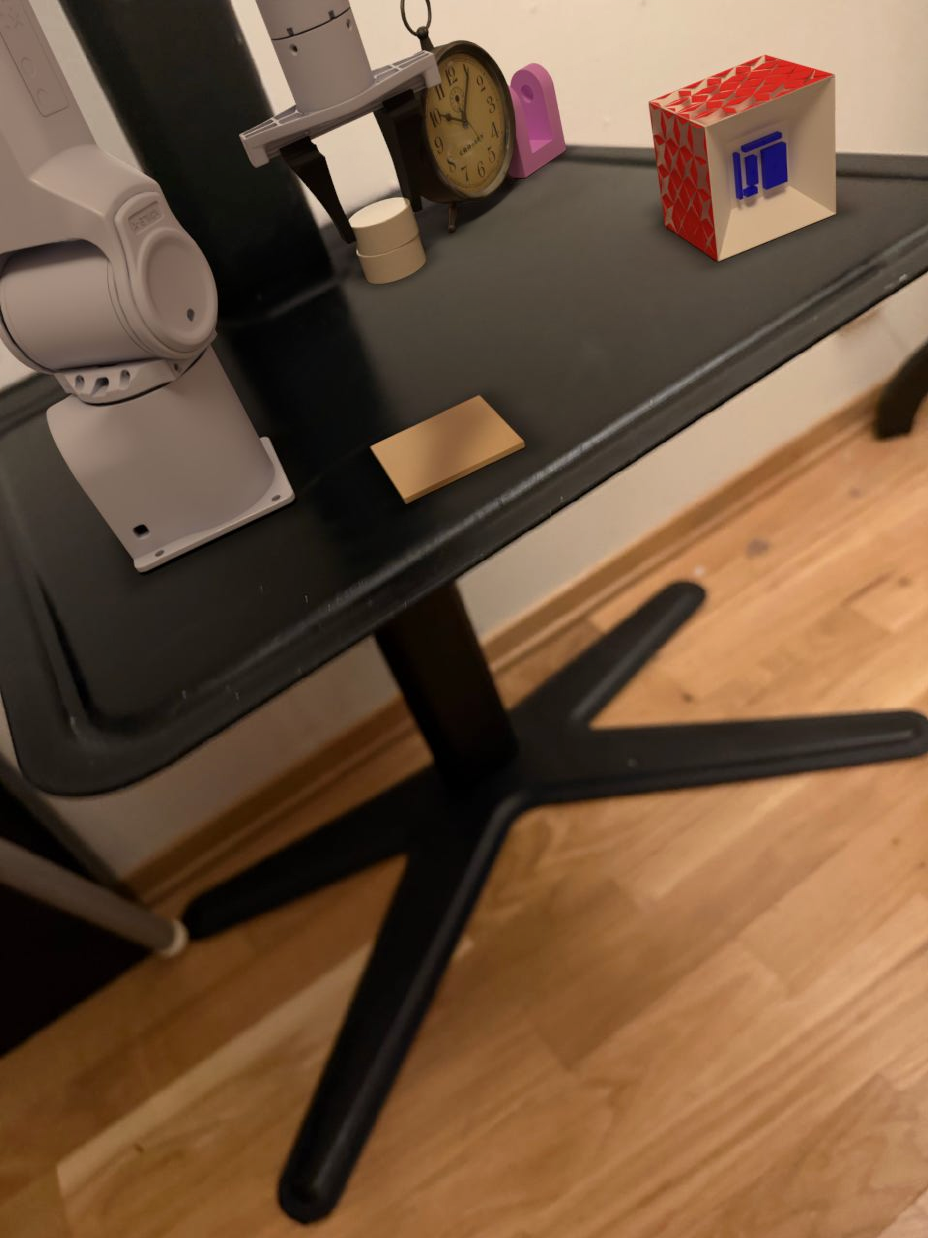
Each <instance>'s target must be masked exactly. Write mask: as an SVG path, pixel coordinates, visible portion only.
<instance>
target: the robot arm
mask: <svg viewBox="0 0 928 1238" xmlns="http://www.w3.org/2000/svg"><path fill="white" fill-rule="evenodd" d="M254 1H255V4H256V6H257V8H258V11H259V14H260V17H261V19H262V21H263V24H264V27H265V30H266V32H267V34H268V37H269V39H270V42H271V44H272V47H273V49H274V52H275V55H276V57H277V60H278V63H279V66H280V69H281V70H282V73H283V76H284V78H285V80H286V83H287V86H288V88H289V91H290V93H291V96H292V99H293V101H294V105H292V106H290V107H288V108H286V109H284V110H283V111H281V112H279V113H277V114H275V115H274V116H272V117H271V118H269V119H267V120H265V121H263V122H262V123H260V124H258V125H256V126H253V127H252V128H250V129H249V130H245V131H244V132H242V133H240V134H239V135H238V136H239V138H240V141H241V142H242V146H243V148H244V151H245V152H246V154H247V157H248V159H249V161H250V163H251V164H252V166H253V167H254V168H256V169H258V168H261V167H262V166H265V165H267V164H268V163H270V160H271V159H274V158H276V157H278V158H279V159H280V160H281V161H283V163H284V164H285V165H286V166H287V167H288V168H289V169H290V170H291V171H292V172H293V173H294V174H295V175H296V176H297V178H298V179H299V180H301V182H302V183H303V184H304V185H305V186H306V188H307V189H308V190H309V191H310V192H311V194H312V195H313V196H314V197H315V198H316V200H317V201H318V202H319V203H320V205H321V206H322V208H323V209H324V210H325V212H326V214H327V215H328V217H329V218H330V219H331V221H332V223H333V225H334V226H335V228H336V230H337V232H338V233H339V236H340V238H341V239H342V241H344V243H345V244H346V245H351V244H354V242H355V241H356V238H355V235H354V232H353V229H352V227H351V225H350V223H349V221H348V220H349V219H348V217H347V215H346V212H345V210H344V208H343V205H342V203H341V201H340V199H339V196H338V193H337V190H336V187H335V184H334V181H333V178H332V175H331V171H330V169H329V165H328V162H327V158H326V156H325V155H324V154H322V153H321V152H320V150H319V148H318V147H319V146H318V145H317V143H315V142H313V140H314V139H317V138H319V137H321V136H324V135H326V134H328V133H330V132H332V131H334V130H337V129H339V128H341V127H343V126H345V125H347V124H350V123H352V122H355V121H357V120H358V119H361V118H364V117H365V116H367V115H369V114H371V113H373V114H372V115H373V116H374V119H375V121H376V124H377V125H378V127H379V130H380V133H381V135H382V138H383V141H384V143H385V145H386V147H387V150H388V153H389V155H390V158H391V160H392V164H393V167H394V171H395V174H396V178H397V182H398V186H399V189H400V192H401V195H402V197H403V198H407V199H408V200H409V201H410V203H411V206H412V209H413V212H414V214H417V213H420V212H421V211H423V210H424V207H423V200H422V196H421V193H420V182H419V146H420V136H421V128H422V123H423V109H422V105H421V102H420V101H419V100H417V99H415V95H414V93H415V92H417V91H419V90H422V89H424V88H428V89H429V88H432V87H434V86H437V85H439V84H441V83H442V81H441V77H440V74H439V70H438V67H437V63H436V60H435V56H434V54H433V53H430V52H428V51H425V50H424V51H422V50H421V51H422V52H420V51H418V52H419V53H418V52H416V53H417V54H416V53H414V54H415V55H414V54H413V55H410V56H407V57H405V58H402V59H400V60H397V61H394V62H392V63H389V64H386V65H384V66H383V65H382V66H381V67H377V68H374V69H372V67H371V64H370V61H369V58H368V55H367V52H366V49H365V46H364V43H363V40H362V37H361V34H360V31H359V28H358V25H357V22H356V19H355V16H354V13H353V10H352V7H351V2H350V0H254ZM33 8H34V7H33V6H32V5H31V2H30V0H0V340H1V341H2V343H3V345H4V346H5V347H6V348H7V350H8V351H9V353H10V354H11V355H13V356H14V357H15V358H16V360H18V361H19V362H20V363H21V364H22V365H24V366H26V367H27V368H29V369H31V370H33V371H35V372H37V373H40V374H44V375H52V376H54V378H55V379H56V380H57V381H58V383H59V385H60V386H61V387H62V388H61V389H63V391H64V392H65V393H66V394H70V395H68V396H67V397H65V398H64V399H62V400H60V401H58V402H56V403H55V404H52V406H50V407H49V408H48V409H47V410H46V422H47V424H48V428H49V431H50V434H51V436H52V438H53V439H52V440H53V441H54V443H55V445H56V447H57V449H58V451H59V453H60V455H61V456H62V458H63V460H64V462H65V464H66V466H67V467H68V469H69V471H70V472H71V474H72V475H73V477H74V478H75V480H76V482H77V483H78V484H79V485H80V487H81V488H82V490H83V491H84V492H85V494H86V495H87V497H88V498H89V500H90V501H91V503H92V504H93V505H94V506H95V508H96V509H97V511H98V512H99V514H100V515H101V516H102V518H103V519H104V521H105V522H106V523H107V525H108V527H109V528H110V529H111V531H112V532H113V533H114V535H115V536H116V537H117V539H118V540H119V541H120V543H121V545H122V547H124V549H125V550H126V551H127V553H128V554H129V556H130V557H131V558H132V560H133V565H134V568H135V569H136V571H137V572H138V573H146V572H148V571H150V570H152V569H155V568H157V567H159V566H161V565H163V564H165V563H167V562H169V561H171V560H174V559H176V558H178V557H180V556H181V555H184V554H186V553H188V552H190V551H193V550H194V549H196V548H199V547H201V546H203V545H206V544H207V543H209V542H212V541H213V540H215V539H217V538H220V537H221V536H222V537H223V536H224V535H226V534H228V533H230V532H232V531H235V530H236V529H237V530H238V528H241V527H243V526H245V525H247V524H249V523H251V522H253V521H256V520H258V519H260V518H262V517H264V516H266V515H269V514H271V513H272V512H274V511H277V510H278V509H279V510H280V509H281V508H283V507H285V506H287V505H289V504H291V503H292V502H294V500H295V498H296V494H295V492H294V490H293V488H292V485H291V483H290V481H289V479H288V476H287V474H286V472H285V470H284V467H283V465H282V464H281V461H280V459H279V457H278V455H277V452H276V450H275V448H274V445H273V443H272V442H271V440H270V437H267V436H262V437H259V434H258V433H257V430H256V429H255V427H254V425H253V423H252V421H251V419H250V418H249V416H248V414H247V412H246V409H245V408H244V406H243V404H242V401H241V400H240V398H239V396H238V395H237V393H236V390H235V389H234V386H233V385H232V382H231V380H230V379H229V377H228V375H227V373H226V371H225V370H224V368H223V365H222V364H221V362H220V360H219V358H218V356H217V354H216V352H215V350H214V349H213V346H212V345H211V343H212V342H213V341H214V340H216V338H217V336H218V333H217V330H216V326H217V322H218V313H219V311H218V310H219V300H218V290H217V285H216V281H215V277H214V275H213V272H212V268H211V267H210V266H211V265H209V262H208V260H207V258H206V257H205V255H204V253H203V251H202V249H201V248H200V247H199V245H198V244H197V242H196V241H195V240H194V238H192V236H191V235H190V234H189V233H188V232H187V231H186V230H185V229H184V228H183V226H182V225H181V224H180V222H179V221H178V219H177V218H176V217H175V215H174V213H173V212H172V209H171V208H170V205H169V203H168V201H167V199H166V196H165V194H164V193H163V190H162V188H161V186H160V184H159V183H158V182H157V181H156V180H155V179H153V178H152V177H150V176H149V175H146V174H145V173H143V172H142V171H140V170H139V169H137V168H135V167H133V166H132V165H129V164H128V163H126V162H125V161H123V160H121V159H119V158H117V157H115V156H114V155H112V154H110V153H109V152H108V151H106V150H104V149H102V148H101V147H100V146H99V145H98V143H97V141H96V140H95V138H94V136H93V134H92V131H91V129H90V127H89V125H88V122H87V120H86V118H85V117H84V114H83V112H82V109H81V108H80V105H79V104H78V102H77V99H76V97H75V95H74V93H73V91H72V89H71V87H70V85H69V83H68V80H67V78H66V75H65V74H64V72H63V70H62V68H61V65H60V63H59V61H58V60H57V57H56V55H55V52H54V51H53V49H52V46H51V45H50V42H49V41H48V38H47V36H46V34H45V31H44V30H43V28H42V25H41V23H40V21H39V19H38V17H37V15H36V13H35V11H34V9H33Z"/></svg>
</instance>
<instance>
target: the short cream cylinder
mask: <svg viewBox="0 0 928 1238" xmlns="http://www.w3.org/2000/svg"><path fill="white" fill-rule="evenodd" d="M348 221H349V223H350V225H351V227H352V229H353V232H354V235H355V238H356V241H355V242H353V244H354V246H355V248H356V251H358V253H359V254H361V255H364V256H374V255H380V254H384V253H387V252H390V251H393V250H395V249H398V248H400V247H402V246H404V245H405V244H407V243H408V242H410V241H411V240H412V239H414V238H415V237H416V235H417V234H418V233H419V232H420V228H419V225H418V222H417V219H416V216H415V213H414V212H413V209H412V206H411V203H410V201H409V200H408V199H407V198H403V196H402V197H401V196H399V197H391V198H390V197H389V198H386V199H382V200H379V201H376V202H373V203H371V204H368V205H366V206H365V207H363V208H361V209H360V210H357V211H356V212H355V213H354V214H353V215H352V216H350V218H349V219H348Z"/></svg>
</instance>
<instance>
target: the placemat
mask: <svg viewBox="0 0 928 1238" xmlns="http://www.w3.org/2000/svg"><path fill="white" fill-rule="evenodd" d="M369 448H370V451H371V452H372V454H373V456H374V457H375V459H376V460H377V461H378V463H379V465H380V467H381V469H383V471H384V473H385V474H386V476H387V477H388V479H389V481H390V482H391V483H392V485H393V487H394V488H395V489H396V491H397V493H398V495H399V496H400V497H401V499H402V501H403V502H404V503H405V505H408V504H409V503H412V502H414V501H416V500H418V499H420V498H422V497H424V496H426V495H428V494H431V493H433V492H435V491H436V490H439V489H441V488H443V487H445V486H447V485H449V484H451V483H453V482H455V481H457V480H460V479H463V478H464V477H466V476H468V475H470V474H471V473H474V472H477V471H478V470H480V469H483V468H485V467H487V466H488V465H491V464H492V463H495V462H497V461H499V460H501V459H503V458H505V457H507V456H509V455H512V454H514V453H516V452H518V451H520V450H522V449H524V448H526V443H525V441H524V440H523V439H522V437H521V436H520V435H518V433H516V431H515V430H514V429H513V428H511V426H510V425H509V424H508V423H507V422H506V421H505V420H504V418H502V417H501V416H500V415H499V414H498V413H497V411H495V410H494V408H493V407H491V405H490V404H489V403H488V402H487V401H486V400H485V399H484V397H482V396H481V395H480V394H478V395H476V396H474V397H471V398H470V399H467V400H466V401H463V402H461V403H460V404H457V405H455V406H453V407H450V408H449V409H447V410H444V411H442V412H441V413H438V414H436V415H433V416H432V417H430V418H428V419H425V420H423V421H421V422H419V423H417V424H415V425H413V426H411V427H408V428H406V429H404V430H402V431H400V432H398V433H396V434H394V435H392V436H390V437H387V438H385V439H383V440H381V441H379V442H377V443H374V444H372V445H370V446H369Z"/></svg>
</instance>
